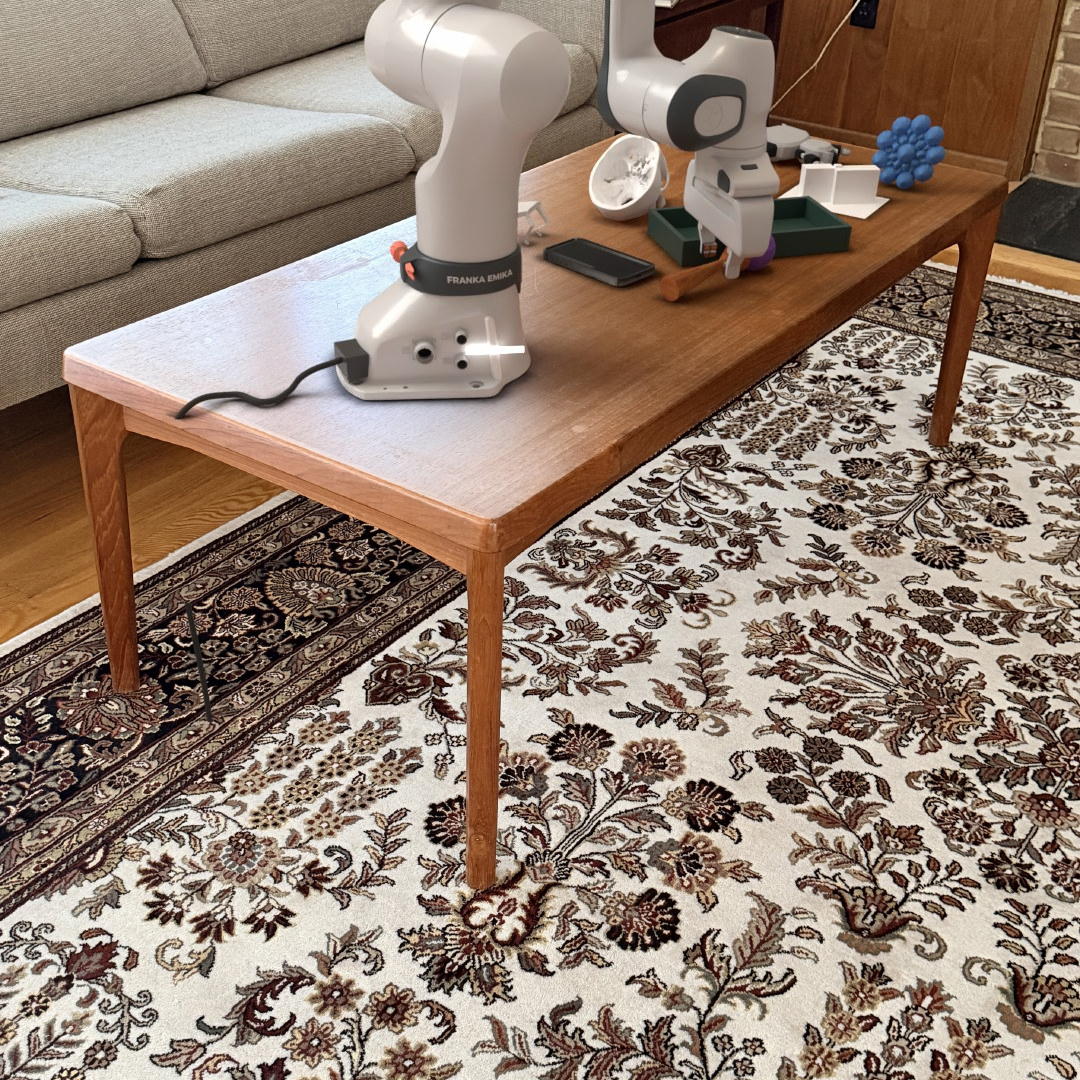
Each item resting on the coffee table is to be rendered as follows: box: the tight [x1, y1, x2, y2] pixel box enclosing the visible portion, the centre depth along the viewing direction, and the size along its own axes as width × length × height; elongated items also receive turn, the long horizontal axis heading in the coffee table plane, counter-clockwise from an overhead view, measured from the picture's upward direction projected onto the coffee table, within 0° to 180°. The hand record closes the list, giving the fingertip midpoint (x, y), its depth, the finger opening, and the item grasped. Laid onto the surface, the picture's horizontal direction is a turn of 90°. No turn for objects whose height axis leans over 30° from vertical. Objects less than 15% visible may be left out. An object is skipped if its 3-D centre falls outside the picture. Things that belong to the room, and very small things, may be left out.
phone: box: [542, 237, 656, 288], centre depth 168 cm, size 8×1×15 cm
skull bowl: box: [588, 133, 671, 222], centre depth 186 cm, size 10×14×12 cm
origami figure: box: [518, 200, 551, 246], centre depth 174 cm, size 12×8×5 cm
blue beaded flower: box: [871, 114, 947, 190], centre depth 196 cm, size 12×7×12 cm, turn 54°
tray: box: [646, 196, 853, 267], centre depth 176 cm, size 26×14×4 cm, turn 106°
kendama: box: [659, 234, 776, 302], centre depth 163 cm, size 6×6×20 cm
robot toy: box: [766, 123, 851, 166], centre depth 208 cm, size 12×4×15 cm
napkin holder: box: [778, 163, 891, 220], centre depth 192 cm, size 15×11×6 cm
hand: (718, 265), depth 164 cm, fingers closed on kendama, 6 cm apart
